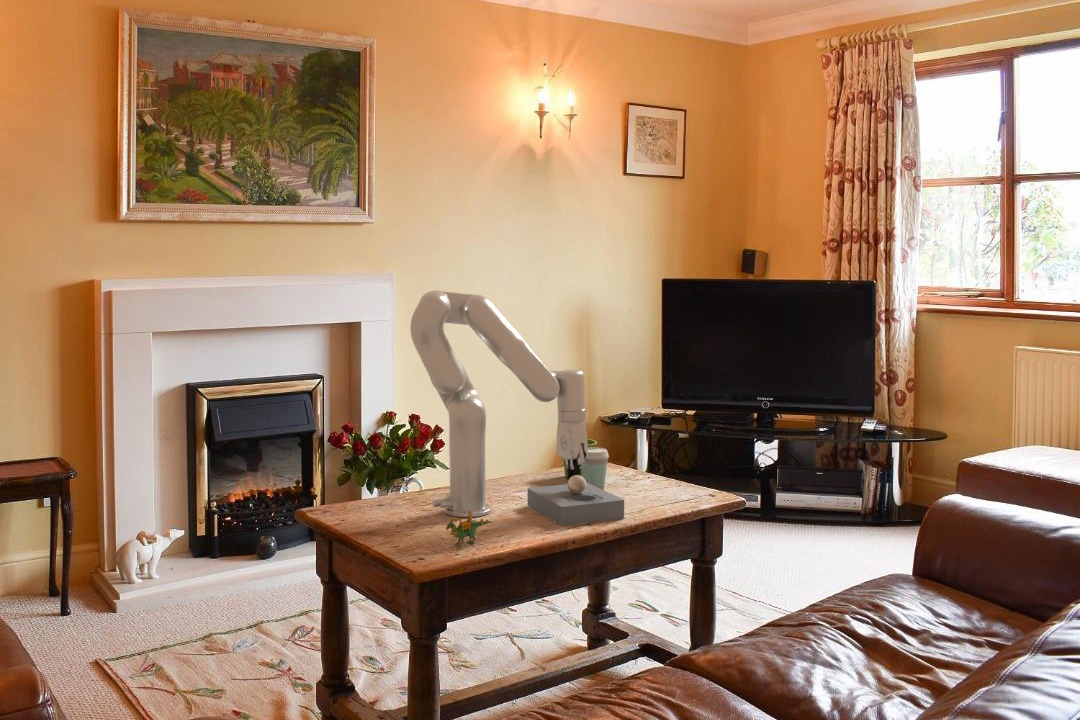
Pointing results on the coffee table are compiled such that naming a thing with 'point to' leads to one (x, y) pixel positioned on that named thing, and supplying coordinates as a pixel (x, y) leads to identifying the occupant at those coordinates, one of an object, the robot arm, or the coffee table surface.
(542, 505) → the grey flat block
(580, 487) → the ball
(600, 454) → the coffee cup
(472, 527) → the figurine
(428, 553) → the coffee table surface
